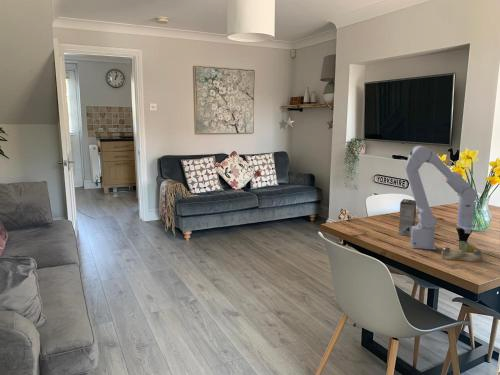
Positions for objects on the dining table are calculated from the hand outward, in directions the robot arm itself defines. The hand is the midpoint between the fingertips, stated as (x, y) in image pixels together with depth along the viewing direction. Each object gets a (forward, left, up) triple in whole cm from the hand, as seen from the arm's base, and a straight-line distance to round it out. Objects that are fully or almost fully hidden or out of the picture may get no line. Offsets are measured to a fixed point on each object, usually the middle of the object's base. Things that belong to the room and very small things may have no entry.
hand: (462, 245), depth 166 cm
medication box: (+1, -7, -2) cm, 7 cm away
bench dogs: (-3, -14, -2) cm, 14 cm away
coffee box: (-21, +19, -2) cm, 28 cm away
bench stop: (-3, -14, -2) cm, 14 cm away
